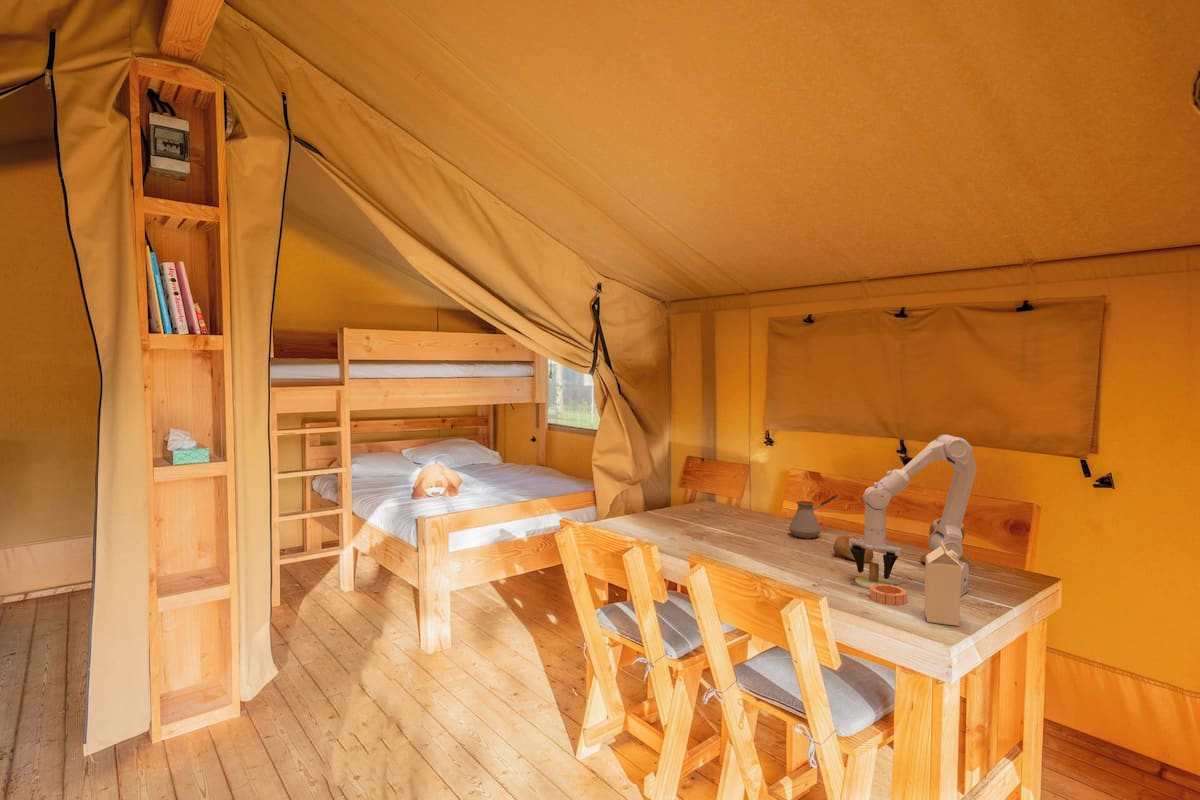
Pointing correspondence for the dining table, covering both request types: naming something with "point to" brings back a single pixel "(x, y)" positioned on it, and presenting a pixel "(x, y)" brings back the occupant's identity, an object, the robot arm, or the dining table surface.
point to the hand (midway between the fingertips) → (873, 575)
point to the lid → (871, 577)
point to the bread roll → (849, 548)
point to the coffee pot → (806, 520)
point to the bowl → (888, 594)
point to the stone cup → (932, 528)
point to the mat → (866, 588)
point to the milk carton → (942, 587)
